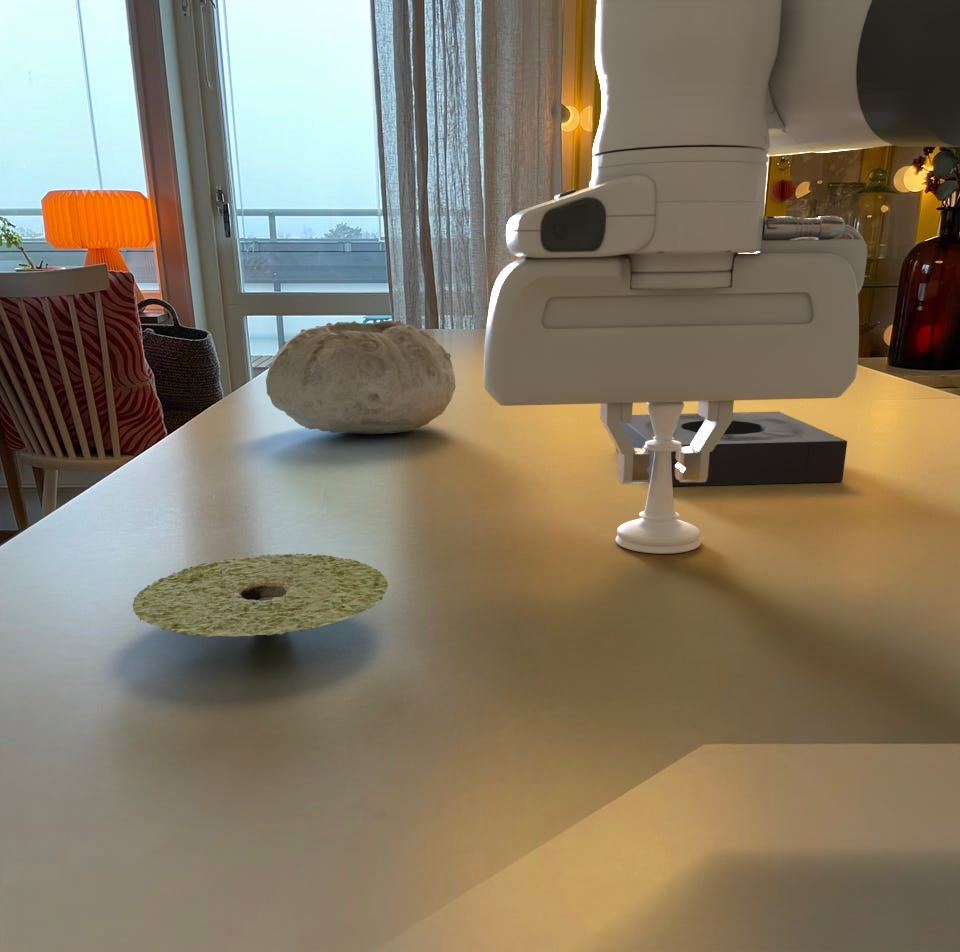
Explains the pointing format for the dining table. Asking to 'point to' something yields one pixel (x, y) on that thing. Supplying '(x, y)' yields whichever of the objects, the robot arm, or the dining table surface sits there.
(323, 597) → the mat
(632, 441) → the grey block with hole
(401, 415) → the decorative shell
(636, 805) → the dining table surface
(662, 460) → the chess piece
